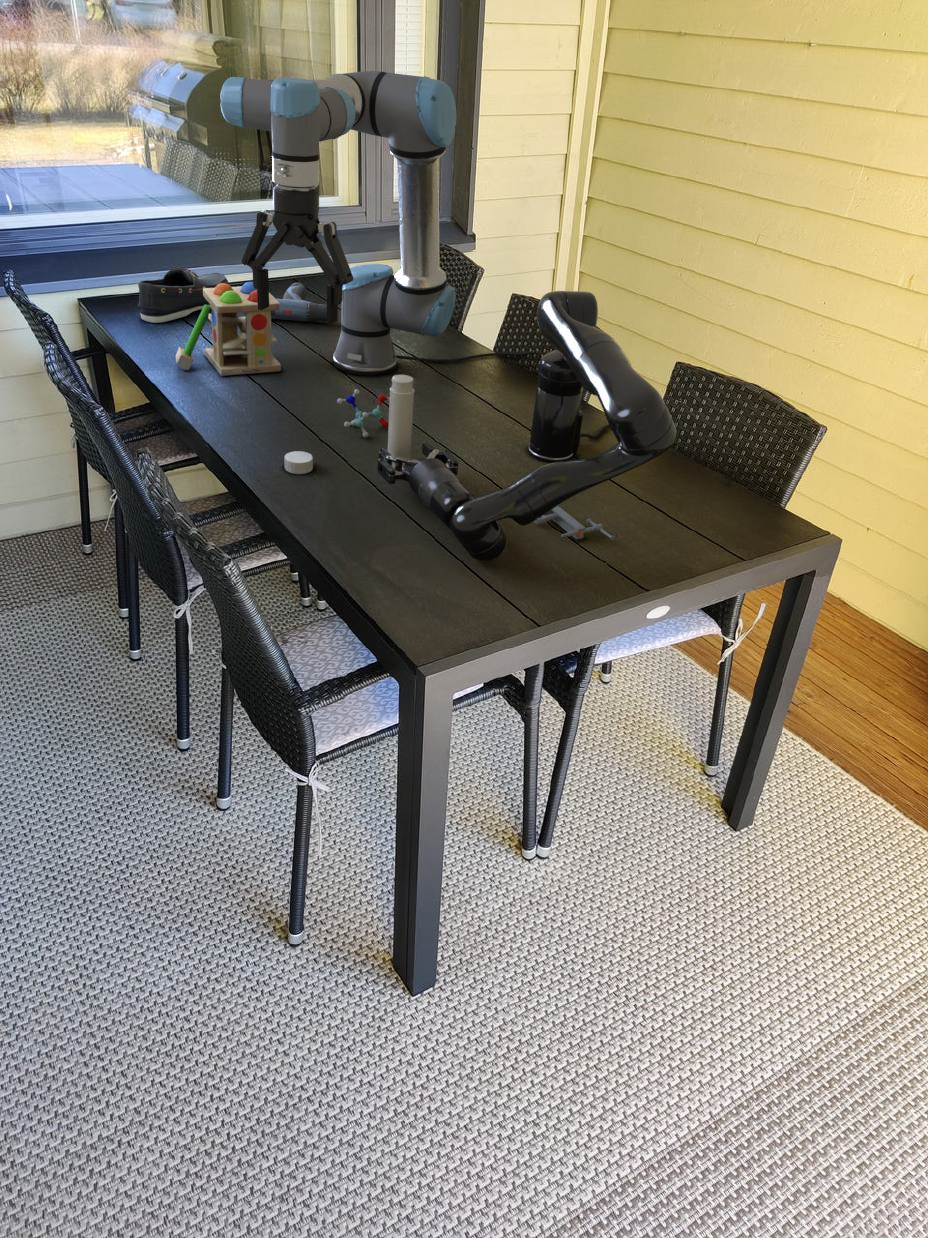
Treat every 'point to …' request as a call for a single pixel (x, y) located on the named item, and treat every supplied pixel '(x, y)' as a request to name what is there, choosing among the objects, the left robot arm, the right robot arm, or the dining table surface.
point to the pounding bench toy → (235, 332)
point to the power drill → (299, 306)
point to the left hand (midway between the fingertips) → (297, 315)
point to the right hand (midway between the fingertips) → (403, 449)
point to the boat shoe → (175, 294)
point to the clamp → (570, 524)
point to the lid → (298, 462)
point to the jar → (400, 417)
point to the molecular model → (360, 415)
